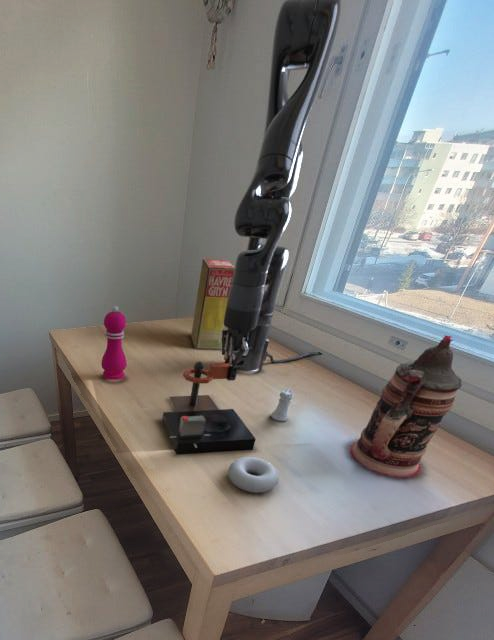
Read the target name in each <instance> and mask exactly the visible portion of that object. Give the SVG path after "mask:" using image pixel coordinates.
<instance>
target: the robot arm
mask: <svg viewBox="0 0 494 640" xmlns="http://www.w3.org/2000/svg"><path fill="white" fill-rule="evenodd" d="M341 12H342V0H284V1H283V2H282V4H281V5H280V8H279V10H278V13H277V17H276V20H275V25H274V32H273V39H272V47H271V48H272V49H271V58H270V59H271V60H270V68H269V69H270V71H269V82H268V92H267V93H268V95H267V105H266V114H265V115H266V116H265V123H264V130H263V137H262V142H261V147H260V151H259V154H258V159H257V162H256V166H255V170H254V173H253V176H252V178H251V180H250V183H249V185H248V186H247V188H246V191H245V193H244V194H243V196H242V198H241V200H240V202H239V204H238V206H237V208H236V211H235V214H234V219H233V226H234V230H235V232H236V234H237V235H238V236H240V237H243V238H248V242H247V246H246V250H243V251H240V252H239V253H238V254H237V256H236V259H235V264H234V266H235V270H234V275H233V280H232V284H231V288H230V291H229V295H228V301H227V306H226V312H225V317H224V325H225V328H227V329H224V330H223V331H222V344H221V355H222V356H223V360H224V363H229V367H228V372H227V377H226V379H225V380H227V382H229V381H230V382H231V381H235V380H236V378H237V374H238V372H252V373H253V374H256V373H258V372H262V371H263V366H264V362H266V360H267V357H268V358H269V361H270V362H271V363H273V364H280V363H281V364H282V363H288V362H292V361H297V360H300V359H302V358H305V357H309V356H312V355H314V354H316V353H317V354H319V355H323V354H322V353H320V352H316V353H315V350H313V351H310V352H307V353H304V354H301V355H298V356H295V357H290V358H285V359H280V360H277V359H274V356H273V355H272V354H270V353H269V352H268V346H269V343H270V339H269V338H268V335H269V332H270V327H271V324H272V320H273V316H274V313H275V310H276V309H275V308H276V305H277V302H278V298H279V293H280V289H281V286H282V283H283V280H284V276H285V274H286V271H287V267H288V263H289V259H290V251H289V249H288V247H285V246H279V245H278V244H279V242H280V240H281V239H282V236H283V235H284V232H285V230H286V228H287V227H288V224H289V222H290V219H291V216H292V204H291V202H290V199H291V198H292V196H293V195H294V193H295V191H296V189H297V187H298V182H299V178H300V174H301V173H300V172H301V167H302V163H303V159H304V157H303V156H304V146H303V145H304V144H303V142H302V137H303V133H304V130H305V127H306V124H307V121H308V118H309V116H310V114H311V111H312V110H313V109H312V108H313V106H314V103H315V102H316V101H315V100H316V98H317V95H318V93H319V90H320V87H321V85H322V81H323V78H324V75H325V73H326V71H327V68H328V65H329V63H330V62H329V61H330V60H331V57H332V53H333V50H334V47H335V43H336V39H337V35H338V32H339V26H340V21H341V14H342V13H341ZM300 70H301V71H305V70H306V72H305V74H304V76H303V79H302V80H301V81H300V83H299V85H298V86H297V87H296V89H295V90H294V92H293V93H292V95H291V96H290V97H289V88H288V73H289V71H300ZM264 239H265V241H264V243H263V240H264ZM265 286H267V288H266V289H265Z"/></svg>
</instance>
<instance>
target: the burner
mask: <svg viewBox="0 0 494 640" xmlns="http://www.w3.org/2000/svg"><path fill="white" fill-rule="evenodd" d="M194 416H203V417H204V418H205V425H204V431H205V432H212V433H217V432H223V431H225V430H227V429H228V428H229V426H230V424H229V421H228V420H227V419H226V418H224V417H222V416H220V415H217V414H212V413H200V414H197V415H194Z"/></svg>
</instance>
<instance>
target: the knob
mask: <svg viewBox="0 0 494 640" xmlns="http://www.w3.org/2000/svg"><path fill="white" fill-rule="evenodd" d="M204 425H205V418H204V417H203V416H189V417H187V416H182V417H181V420H180V427H179V434H178V435H179V437H180V439H189V438H202V436H203V431H204Z"/></svg>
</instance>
